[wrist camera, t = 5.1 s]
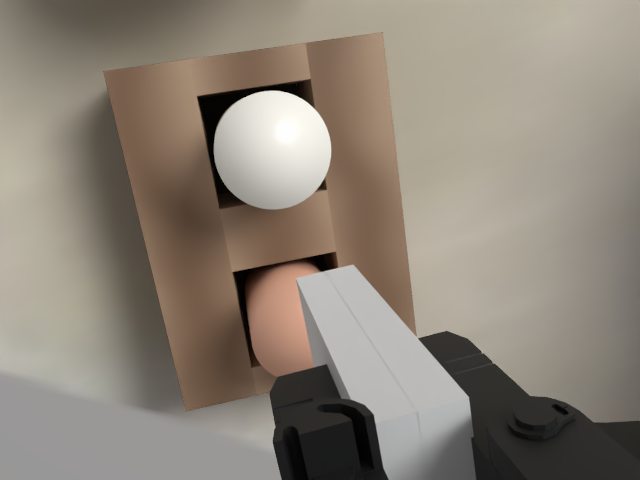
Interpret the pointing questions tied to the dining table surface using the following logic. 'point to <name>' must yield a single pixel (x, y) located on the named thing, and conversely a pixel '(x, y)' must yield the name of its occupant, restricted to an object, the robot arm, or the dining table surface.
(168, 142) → the wooden egg holder
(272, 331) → the brown egg
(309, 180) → the white egg
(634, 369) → the dining table surface
